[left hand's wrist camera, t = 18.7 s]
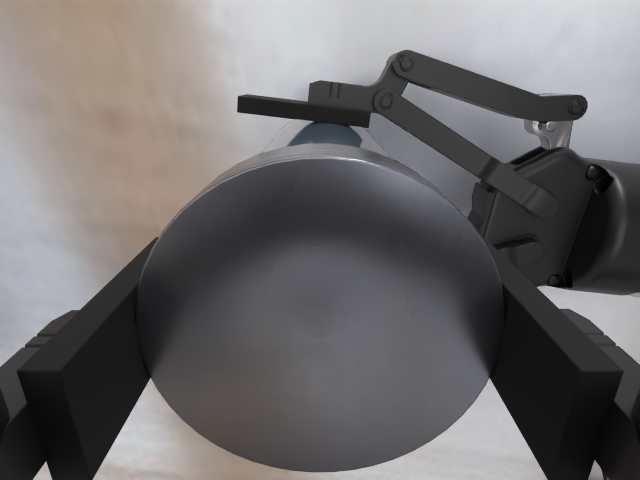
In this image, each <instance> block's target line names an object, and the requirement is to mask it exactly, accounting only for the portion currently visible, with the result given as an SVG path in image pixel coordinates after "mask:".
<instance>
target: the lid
mask: <svg viewBox="0 0 640 480" xmlns="http://www.w3.org/2000/svg"><path fill="white" fill-rule="evenodd" d="M135 315H136V329H137V334H138V340H139V345H140V350H141V355H142V357H143V360H144V363H145V365H146V368H147V371H148V373H149V375H150V377H151V378H152V380H153V382H154V384H155V386H156V388H157V389H158V391H159V392H160V394H161V395H162V396H163V398H164V399H165V400H166V402H167V403H168V405H169V406H170V407H171V408H172V409H173V410H174V411H175V412H176V413H177V414H178V415H179V417H180V418H181V419H182V420H183V421H184V422H186V423H187V424H188V425H189V426H190V427H192V428H193V429H194V430H195V431H196V432H198V433H199V434H200V435H202V436H203V437H205V438H206V439H208V440H209V441H211V442H212V443H214V444H215V445H217V446H219V447H221V448H223V449H225V450H227V451H229V452H231V453H233V454H235V455H238V456H240V457H243V458H245V459H248V460H250V461H253V462H256V463H260V464H264V465H267V466H271V467H275V468H281V469H287V470H292V471H304V472H337V471H347V470H355V469H360V468H365V467H369V466H374V465H377V464H380V463H384V462H387V461H390V460H393V459H396V458H398V457H400V456H403V455H405V454H407V453H410V452H412V451H414V450H416V449H417V448H419V447H421V446H423V445H425V444H426V443H428V442H430V441H431V440H433V439H434V438H436V437H437V436H438V435H440V434H441V433H443V432H444V431H446V430H447V429H448V428H449V427H450V426H451V425H452V424H453V423H455V422H456V421H457V420H458V419H459V418H460V417H461V416H462V415H463V414H464V413H465V412H466V411H467V409H468V408H469V407H470V406H471V405H472V404H473V403H474V401H475V400H476V398H477V397H478V395H479V394H480V393H481V391H482V390H483V388H484V387H485V385H486V383H487V381H488V379H489V377H490V375H491V373H492V371H493V369H494V367H495V364H496V361H497V358H498V355H499V352H500V347H501V342H502V336H503V331H504V321H505V304H504V297H503V290H502V284H501V280H500V277H499V274H498V271H497V267H496V264H495V262H494V260H493V258H492V256H491V254H490V252H489V250H488V247H487V245H486V243H485V242H484V240H483V239H482V238H481V236H480V235H479V233H478V232H477V230H476V229H475V227H474V226H473V225H472V223H471V222H470V221H469V220H468V219H467V218H466V217H465V216H464V215H463V214H462V213H461V212H460V211H459V210H458V209H457V208H456V206H455V205H454V204H452V203H451V202H450V201H449V200H448V199H447V198H446V197H445V196H444V195H443V194H442V193H441V192H440V191H438V190H437V189H436V188H435V187H434V186H433V185H432V184H431V183H429V182H428V181H427V180H425V179H424V178H423V177H422V176H420V175H419V174H418V173H417V172H415V171H413V170H412V169H410V168H408V167H406V166H405V165H403V164H401V163H400V162H398V161H396V160H394V159H391V158H389V157H386V156H384V155H381V154H379V153H376V152H373V151H369V150H365V149H361V148H358V147H354V146H347V145H338V144H329V143H324V144H301V145H294V146H288V147H281V148H278V149H275V150H271V151H268V152H265V153H261V154H258V155H256V156H254V157H252V158H249V159H247V160H245V161H243V162H241V163H238V164H237V165H235V166H234V167H232V168H230V169H229V170H227V171H226V172H224V173H223V174H221V175H219V176H218V177H217V178H216V179H215V180H214V181H212V182H211V183H210V184H209V185H208V186H207V187H205V188H204V189H203V190H202V191H201V192H200V193H199V194H198V195H197V196H195V197H194V198H193V199H192V200H191V201H190V202H189V203H188V204H187V205H186V206H185V207H184V208H183V209H181V210H180V212H179V213H178V214H177V215H176V216H175V217H174V218H173V220H172V221H171V222H170V223H169V224H168V225H167V226H166V228H165V229H164V230H163V232H162V233H161V235H160V237H159V238H158V240H157V241H156V243H155V244H154V246H153V247H152V249H151V252H150V254H149V256H148V259H147V261H146V263H145V265H144V268H143V271H142V274H141V278H140V282H139V286H138V290H137V299H136V310H135Z"/></svg>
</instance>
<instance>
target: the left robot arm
mask: <svg viewBox="0 0 640 480" xmlns="http://www.w3.org/2000/svg"><path fill="white" fill-rule="evenodd" d="M158 238H159V237H156V238H155V239H154V240H153V241H152V242H151V243H150V244H149V245H148V246H147V247H146V248H144V249H143V250H142V251H141V252H140V253H139V254H138V255H137V256H136V257H135V258H134V259H133V260H132V261H131V262H130V263H129V264H128V265H127V266H126V267H125V268H124V269H123V270H121V271H120V272H119V273H118V274H117V275H116V276H115V277H114V278H113V279H112V280H111V281H110V282H109V283H108V284H107V285H106V286H105V287H104V288H103V289H102V290H101V291H100V292H98V293H97V294H96V295H95V296H94V297H93V298H92V299H91V300H90V301H89V302H88V303H87V304H86V305H85V306H84V307H83V308H82V309H81V310H71V311H70V312H68V313H66V314H64V315H62V316H60V317H58V318H57V319H55V320H53V321H51V322H50V323H49V324H48V325H47V326H46V327H45V328H43V329H42V330H41V331H40V332H39V333H38V334H37V337H33V338H32V339H31V340H30V341H29V342H28V343H27V344H26V345H25V348H21V349H20V350H19V351H18V352H17V353H16V354H14V355H13V356H12V357H11V358H10V359H9V360H8V361H7V362H6V363H4V364H3V365H2V366H1V367H0V480H33V478H34V477H35V476H36V474H37V473H38V471H39V470H40V469H41V467H42V466H43V464H44V463H45V462H47V465H48V468H49V471H50V474H51V477H52V480H93V478H94V476H95V474H96V473H97V471H98V469H99V467H100V465H101V464H102V462H103V460H104V458H105V457H106V455H107V453H108V451H109V450H110V448H111V446H112V444H113V443H114V441H115V439H116V437H117V436H118V434H119V432H120V430H121V429H122V427H123V425H124V423H125V422H126V420H127V418H128V416H129V415H130V413H131V411H132V409H133V408H134V406H135V404H136V402H137V401H138V399H139V397H140V395H141V394H142V392H143V390H144V388H145V387H146V385H147V383H148V381H149V380H150V378H151V377H150V375H149V373H148V371H147V368H146V365H145V363H144V360H143V357H142V355H141V350H140V345H139V340H138V334H137V329H136V315H135V310H136V299H137V290H138V286H139V282H140V278H141V274H142V271H143V268H144V265H145V263H146V261H147V259H148V256H149V254H150V252H151V249H152V247H153V246H154V244H155V243H156V241H157V240H158ZM481 238H482V239H483V240H484V242H485V243H486V245H487V247H488V250H489V252H490V254H491V256H492V258H493V260H494V262H495V264H496V267H497V271H498V274H499V277H500V280H501V284H502V290H503V297H504V304H505V321H504V331H503V336H502V342H501V347H500V352H499V355H498V358H497V361H496V364H495V367H494V369H493V371H492V373H491V375H490V379H491V381H492V383H493V384H494V386H495V388H496V390H497V391H498V393H499V395H500V397H501V398H502V400H503V402H504V404H505V405H506V407H507V409H508V411H509V412H510V414H511V416H512V418H513V419H514V421H515V423H516V425H517V426H518V428H519V430H520V432H521V433H522V435H523V437H524V439H525V440H526V442H527V444H528V446H529V447H530V449H531V451H532V453H533V454H534V456H535V458H536V460H537V462H538V463H539V465H540V467H541V469H542V470H543V472H544V474H545V476H546V477H547V479H548V480H588V478H589V475H590V472H591V469H592V466H593V463H594V460H596V462H597V463H598V465H599V466H600V467H601V469H602V470H603V471H604V473H605V474H606V476H607V477H608V478H607V480H640V365H639V364H638V363H637V362H636V361H635V360H634V359H633V358H631V357H630V356H629V355H628V354H627V353H626V352H625V351H624V350H623V349H621V348H620V347H619V346H616V345H615V344H616V343H615V342H614V341H612V340H611V339H610V338H609V337H608V336H607V335H604V334H603V332H602V331H601V330H600V329H599V328H598V327H597V326H596V325H594V324H593V323H592V322H591V321H590V320H589V319H587V318H585V317H583V316H581V315H579V314H577V313H576V312H574V311H572V310H570V309H559V308H558V307H556V306H555V305H554V304H553V303H552V302H551V301H550V300H549V299H548V298H547V297H546V296H545V295H544V294H543V293H542V292H541V291H540V290H539V289H538V288H537V287H536V286H535V285H533V284H532V283H531V282H530V281H529V280H528V279H527V278H526V277H525V276H524V275H523V274H522V273H521V272H520V271H519V270H518V269H517V268H516V267H515V266H514V265H513V264H511V263H510V262H509V261H508V260H507V259H506V258H505V257H504V256H503V255H502V254H501V253H500V252H499V251H498V250H497V249H496V248H495V247H494V246H493V245H492V244H491V243H490V242H488V241H487V240H486V239H485V238H484V237H481Z"/></svg>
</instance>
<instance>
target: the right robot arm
mask: <svg viewBox="0 0 640 480" xmlns="http://www.w3.org/2000/svg"><path fill="white" fill-rule="evenodd" d="M408 82H409V83H411V84H414V85H417V86H420V87H423V88H426V89H429V90H432V91H435V92H438V93H441V94H444V95H447V96H450V97H452V98H455V99H458V100H461V101H464V102H467V103H470V104H473V105H476V106H479V107H482V108H485V109H488V110H491V111H493V112H496V113H499V114H502V115H506V116H510V117H515V118H520V119H525V120H524V127H525V130H526V131H527V132H528V133H530V134H534V135H537V136H538V137H539V138H540V140H541V146H539V147H537V148H535V149H533V150H531V151H529V152H528V153H526V154H524V155H522V156H520V157H518V158H516V159H514V160H512V161H510V162H508V163H506V164H504V163H502V162H500V161H499V160H497V159H495V158H494V157H492V156H490V155H489V154H487V153H486V152H484V151H483V150H481V149H480V148H478V147H477V146H475V145H474V144H472V143H471V142H469V141H468V140H466V139H465V138H463V137H462V136H460V135H459V134H457V133H456V132H454V131H453V130H451V129H450V128H448V127H447V126H445V125H444V124H442V123H441V122H439V121H438V120H436V119H435V118H433V117H432V116H430V115H429V114H427V113H426V112H424V111H423V110H421V109H420V108H418V107H417V106H415V105H414V104H412V103H411V102H409V101H408V100H406V99H405V98H403V97H402V96H401V95H402V93H403V91H404V89H405V87H406V86H407V84H408ZM586 110H587V101H586V98H584V97H583V96H581V95H570V94H552V93H551V94H533V93H531V92H528V91H525V90H522V89H519V88H516V87H514V86H511V85H508V84H505V83H502V82H499V81H496V80H494V79H491V78H488V77H485V76H482V75H479V74H476V73H474V72H471V71H468V70H465V69H462V68H459V67H456V66H454V65H451V64H448V63H445V62H442V61H439V60H436V59H434V58H431V57H428V56H425V55H422V54H419V53H416V52H414V51H411V50H404V51H401V52H398V53H396V54H393V55H392V56H390V57H389V59H388V61H387V63H386V66H385V68H384V70H383V72H382V74H381V76H380V78H379V79H378V81H377V82H375V83H374V84H372V85H369V86H361V85H353V84H345V83H337V82H329V81H317V82H313V83H310V86H309V96H308V102H306V101H297V100H289V99H281V98H273V97H264V96H256V95H248V94H247V95H242V96H238V108H237V112H239V113H247V114H256V115H264V116H273V117H281V118H289V119H298V120H306V121H315V122H323V123H331V124H340V125H348V126H356V127H365V128H368V127H369V121H370V114H371V112H372V113H379V114H381V115H382V116H384V117H385V118H387V119H388V120H390V121H392V122H393V123H395V124H396V125H398V126H399V127H401V128H402V129H404V130H405V131H407V132H408V133H410V134H412V135H413V136H415V137H416V138H418V139H419V140H421V141H422V142H424V143H425V144H427V145H429V146H430V147H432V148H433V149H435V150H436V151H438V152H439V153H441V154H442V155H444V156H446V157H447V158H449V159H450V160H452V161H453V162H455V163H456V164H458V165H459V166H461V167H462V168H464V169H465V170H467V171H469V172H470V173H472V174H473V175H475V176H476V177H478V178H479V179H481V181H480V183H475V186H474V190H473V194H472V210H471V212H470V214H469V216H468V218H467V219H468V220H469V221H470V222H471V223H472V225H473V226H474V227H475V229H476V230H477V232H478V233H479V235H480V236H481V237H484V238H485V239H486V240H487V241H488V242H490V243H491V244H492V245H493V246H494V247H495V248H496V249H497V250H498V251H499V252H500V253H501V254H502V255H503V256H504V257H505V258H506V259H507V260H508V261H509V262H510V263H511V264H513V265H514V266H515V267H516V268H517V269H518V270H519V271H520V272H521V273H522V274H523V275H524V276H525V277H526V278H527V279H528V280H529V281H530V282H531V283H532V284H533V285H535V286H536V287H539V286H552V287H556V288H561V289H567V290H575V291H585V292H595V293H604V294H614V295H630V296H633V297H640V164H632V163H624V162H615V161H607V160H598V159H590V158H582V157H580V156H578V155H577V154H576V153H575V152H574V151H573V150H571V149H569V148H568V147H569V142H570V136H571V130H572V124H573V120H577V119H579V118H581V117H582V116H583V115H584V114H585V112H586Z"/></svg>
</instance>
